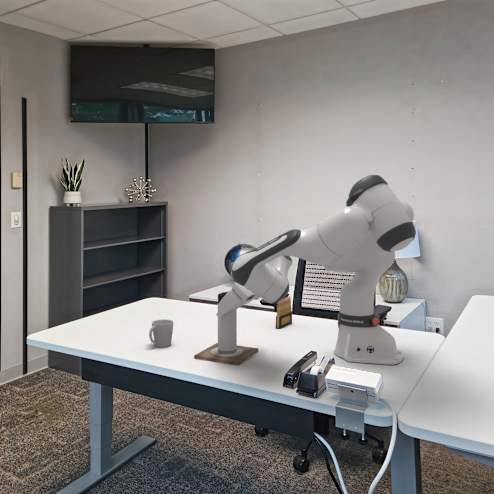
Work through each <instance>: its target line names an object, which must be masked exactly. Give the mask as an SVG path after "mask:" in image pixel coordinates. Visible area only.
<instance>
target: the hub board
mask: <svg viewBox="0 0 494 494" xmlns="http://www.w3.org/2000/svg"><path fill="white" fill-rule="evenodd" d="M236 347H237V351H236V352H235V353H233V354H221V353H219V352H218V342H216V343H215V344H212V345H210V346H209V347H207V348H205V349H203V350H201V351H199V352H198V353H196V354H194V355H193V358H194V359H195V360H202V361H208V362H216V363H220V362H221V363H222V364H227V363H228V365H233V364H234V365H235V366H239V365H240V364H242V363H243V361H244V362H245V361H247V360H248V359H249V358H251V357H252V356H254V355H256V353H258V352H259V348H257V347H252V346H245V345H237V346H236Z"/></svg>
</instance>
